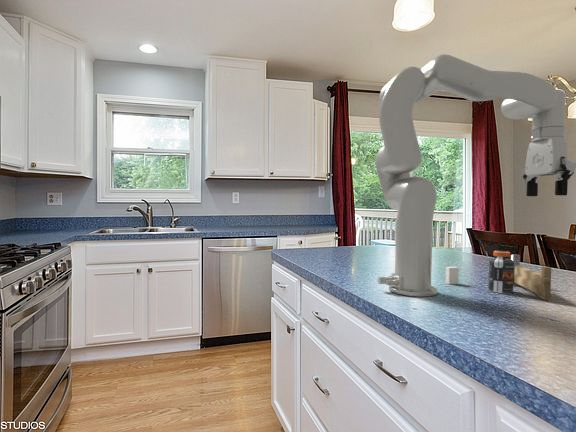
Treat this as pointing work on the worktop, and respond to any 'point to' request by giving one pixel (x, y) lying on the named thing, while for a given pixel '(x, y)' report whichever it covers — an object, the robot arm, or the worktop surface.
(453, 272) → the block
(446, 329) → the worktop surface
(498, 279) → the pill bottle
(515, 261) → the hinge post
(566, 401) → the worktop surface
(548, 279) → the gate
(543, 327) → the worktop surface
